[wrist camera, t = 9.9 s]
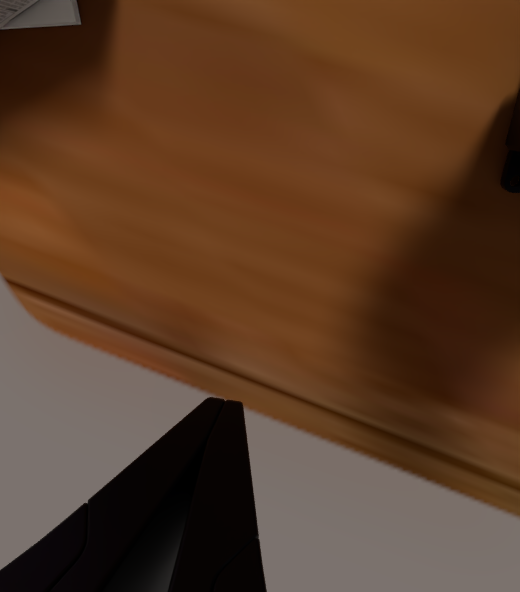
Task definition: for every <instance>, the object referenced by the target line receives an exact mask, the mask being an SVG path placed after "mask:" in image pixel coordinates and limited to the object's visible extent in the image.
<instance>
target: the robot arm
mask: <svg viewBox="0 0 520 592" xmlns="http://www.w3.org/2000/svg"><path fill="white" fill-rule="evenodd" d="M505 144H506V146H507V147H508V149H509V152H508V156H507V159H506V163H505V167H504V170H503V174H502V178H501V186H502V188H503V189H504V190H506V191H508V192H512V193H520V91H519V94H518V98H517V102H516V105H515V109H514V113H513V117H512V120H511V124H510V128H509V132H508V135H507V139H506V143H505ZM515 176H519V181H518V183H516V184H515V185H512V186H511V185H510V181H511V179H512V178H513V177H515ZM258 538H259V534H258V526H257V517H256V509H255V501H254V493H253V485H252V476H251V469H250V459H249V451H248V443H247V435H246V426H245V418H244V410H243V404H242V402H240V401H233V400H226V401H225V400H224V399H220V398H214V397H209V398H207V399H205V400H204V401H203V402H202V403H201V404H200V405H198V406H197V407H196V408H195V409H194V410H193V411H192V412H190V413H189V414H188V415H187V416H186V417H184V418H183V419H182V420H181V421H180V422H179V423H177V424H176V425H175V426H174V427H173V428H172V429H170V430H169V431H168V432H167V433H166V434H165V435H163V436H162V437H161V438H160V439H159V440H158V441H156V442H155V443H154V444H153V445H152V446H151V447H149V448H148V449H147V450H146V451H145V452H144V453H143V454H141V455H140V456H139V457H138V458H137V459H136V460H134V461H133V462H132V463H131V464H130V465H128V466H127V467H126V468H125V469H124V470H123V471H121V472H120V473H119V474H118V475H117V476H116V477H114V479H112V480H111V481H110V482H109V483H107V484H106V485H105V486H104V487H103V488H102V489H101V490H99V491H98V492H97V493H96V494H95V495H94V496H92V497H91V498H90V499H89V500H88V504H87V503H84V504H83V505H82V506H80V507H79V508H78V509H77V510H76V511H75V512H74V513H72V514H71V515H70V516H69V517H68V518H66V519H65V520H64V521H63V522H62V523H60V524H59V525H58V526H57V527H55V528H54V529H53V530H52V531H51V532H49V533H48V534H47V535H46V536H45V537H43V538H42V539H41V540H40V541H38V542H37V543H36V544H34V545H33V546H32V547H30V548H29V549H28V550H26V551H25V552H24V553H23V554H21V555H20V556H19V557H17V558H16V559H15V560H13V561H12V562H11V563H9V564H8V565H7V566H5V567H4V568H3V569H1V570H0V592H267V591H266V584H265V578H264V572H263V565H262V557H261V549H260V541H259V539H258Z"/></svg>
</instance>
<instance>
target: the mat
mask: <svg viewBox="0 0 520 592" xmlns="http://www.w3.org/2000/svg"><path fill="white" fill-rule="evenodd" d="M65 25H81V21H80V15H79V10H78V5H77V0H40V1H38V2H37V3H36V4H34V5H33V6H31V7H30V8H28V9H27V10H25V11H24V12H23V13H21V14H20V15H18V16H16V17H15V18H14V19H12V20H11V21H9V22H7V24H6V25H5V26H3V27H2V28H0V29H16V28H32V27H49V26H65Z"/></svg>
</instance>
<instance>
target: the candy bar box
mask: <svg viewBox="0 0 520 592" xmlns="http://www.w3.org/2000/svg"><path fill="white" fill-rule="evenodd" d="M38 1H40V0H0V28H2V27H3V26H5V25H6V24H7V22H9V21H11V20H12V19H14V18H15V17H16V16H18V15H20V14H21V13H23V12H24V11H25V10H27V9H28V8H30V7H31V6H33V5H34V4H36V3H37V2H38Z"/></svg>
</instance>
